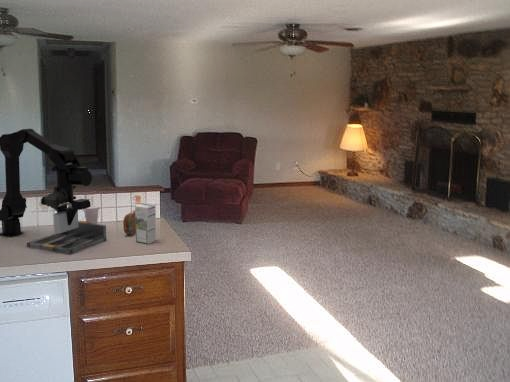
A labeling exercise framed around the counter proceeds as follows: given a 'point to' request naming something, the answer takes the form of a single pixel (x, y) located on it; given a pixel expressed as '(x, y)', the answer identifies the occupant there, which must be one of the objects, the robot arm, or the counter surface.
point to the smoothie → (91, 213)
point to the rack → (83, 231)
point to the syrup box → (145, 223)
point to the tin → (130, 223)
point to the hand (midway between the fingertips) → (66, 224)
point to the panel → (64, 222)
